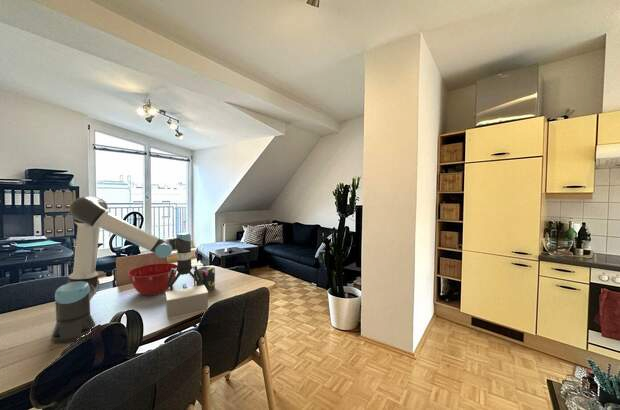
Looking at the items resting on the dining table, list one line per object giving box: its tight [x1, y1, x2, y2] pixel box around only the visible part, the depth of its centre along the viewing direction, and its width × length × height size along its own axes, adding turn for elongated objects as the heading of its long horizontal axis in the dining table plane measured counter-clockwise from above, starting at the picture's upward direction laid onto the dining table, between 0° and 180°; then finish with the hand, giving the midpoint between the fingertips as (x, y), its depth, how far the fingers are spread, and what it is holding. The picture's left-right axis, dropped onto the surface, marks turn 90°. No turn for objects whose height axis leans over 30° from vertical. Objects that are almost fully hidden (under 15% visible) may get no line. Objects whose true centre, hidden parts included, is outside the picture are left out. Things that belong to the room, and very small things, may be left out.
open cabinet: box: [165, 292, 209, 320], centre depth 144 cm, size 20×12×10 cm, turn 123°
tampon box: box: [193, 266, 216, 293], centre depth 172 cm, size 11×9×15 cm
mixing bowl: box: [127, 262, 178, 297], centre depth 168 cm, size 28×28×16 cm
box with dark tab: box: [164, 283, 209, 301], centre depth 146 cm, size 21×18×6 cm
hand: (184, 294), depth 153 cm, fingers open, 12 cm apart
